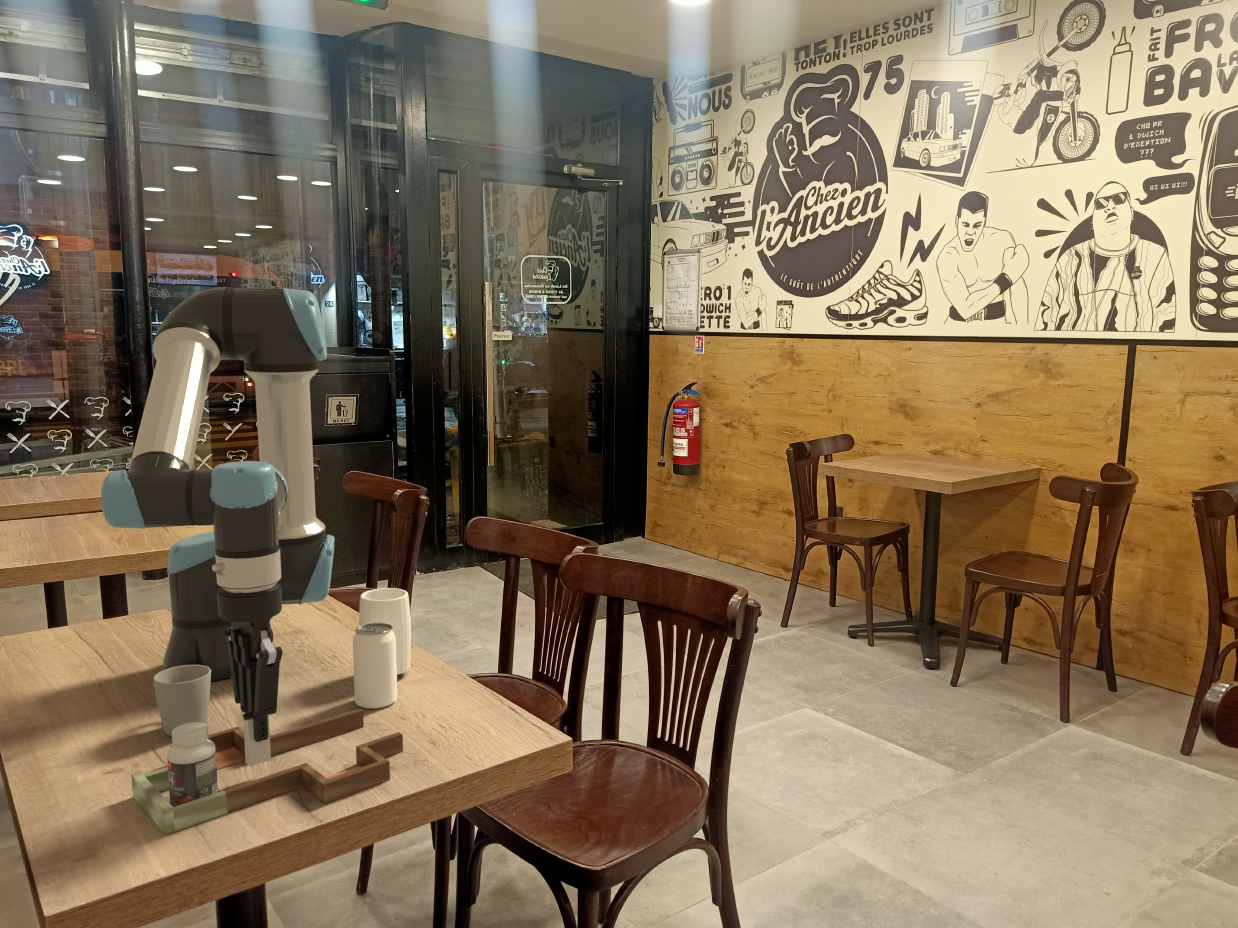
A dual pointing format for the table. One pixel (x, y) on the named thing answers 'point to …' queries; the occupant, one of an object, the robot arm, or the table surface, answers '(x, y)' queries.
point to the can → (375, 666)
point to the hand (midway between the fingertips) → (258, 760)
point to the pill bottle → (191, 764)
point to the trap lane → (233, 752)
